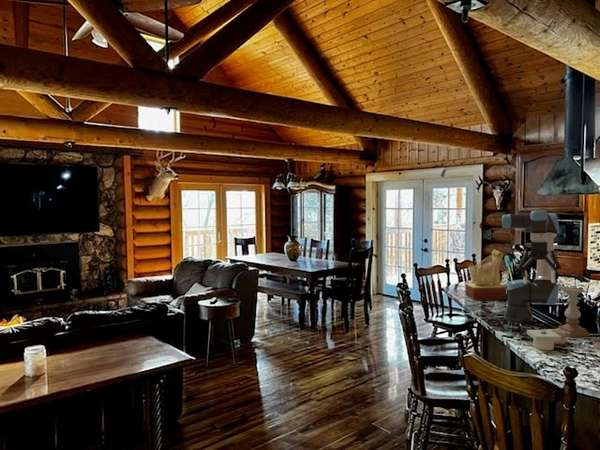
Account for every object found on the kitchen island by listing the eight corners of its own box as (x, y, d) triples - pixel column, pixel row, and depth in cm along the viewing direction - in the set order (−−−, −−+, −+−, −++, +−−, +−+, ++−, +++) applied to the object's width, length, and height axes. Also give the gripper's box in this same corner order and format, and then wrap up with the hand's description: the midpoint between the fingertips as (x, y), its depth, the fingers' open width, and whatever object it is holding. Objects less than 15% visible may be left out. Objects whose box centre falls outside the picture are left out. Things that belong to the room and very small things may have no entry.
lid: (526, 333, 219) (526, 328, 219) (550, 333, 218) (550, 328, 218) (536, 340, 208) (536, 334, 208) (561, 340, 207) (561, 334, 207)
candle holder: (555, 331, 238) (555, 287, 237) (575, 330, 239) (575, 286, 238) (570, 337, 227) (569, 291, 226) (590, 336, 228) (590, 290, 227)
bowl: (530, 344, 218) (530, 334, 218) (548, 344, 217) (548, 334, 217) (538, 350, 210) (538, 339, 210) (556, 350, 209) (556, 339, 209)
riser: (547, 339, 225) (547, 329, 225) (559, 339, 224) (559, 329, 224) (552, 343, 219) (552, 332, 219) (565, 343, 218) (565, 332, 218)
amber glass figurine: (498, 294, 335) (498, 248, 333) (509, 299, 317) (509, 250, 315) (465, 295, 335) (464, 249, 334) (474, 300, 317) (473, 251, 316)
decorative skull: (483, 290, 352) (482, 265, 351) (475, 284, 378) (475, 260, 377) (506, 290, 349) (506, 264, 348) (497, 284, 375) (497, 260, 374)
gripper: (516, 242, 222) (516, 284, 223) (568, 241, 220) (568, 283, 221) (510, 241, 230) (510, 281, 231) (561, 240, 227) (561, 281, 228)
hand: (539, 282), depth 226 cm, fingers open, 13 cm apart
